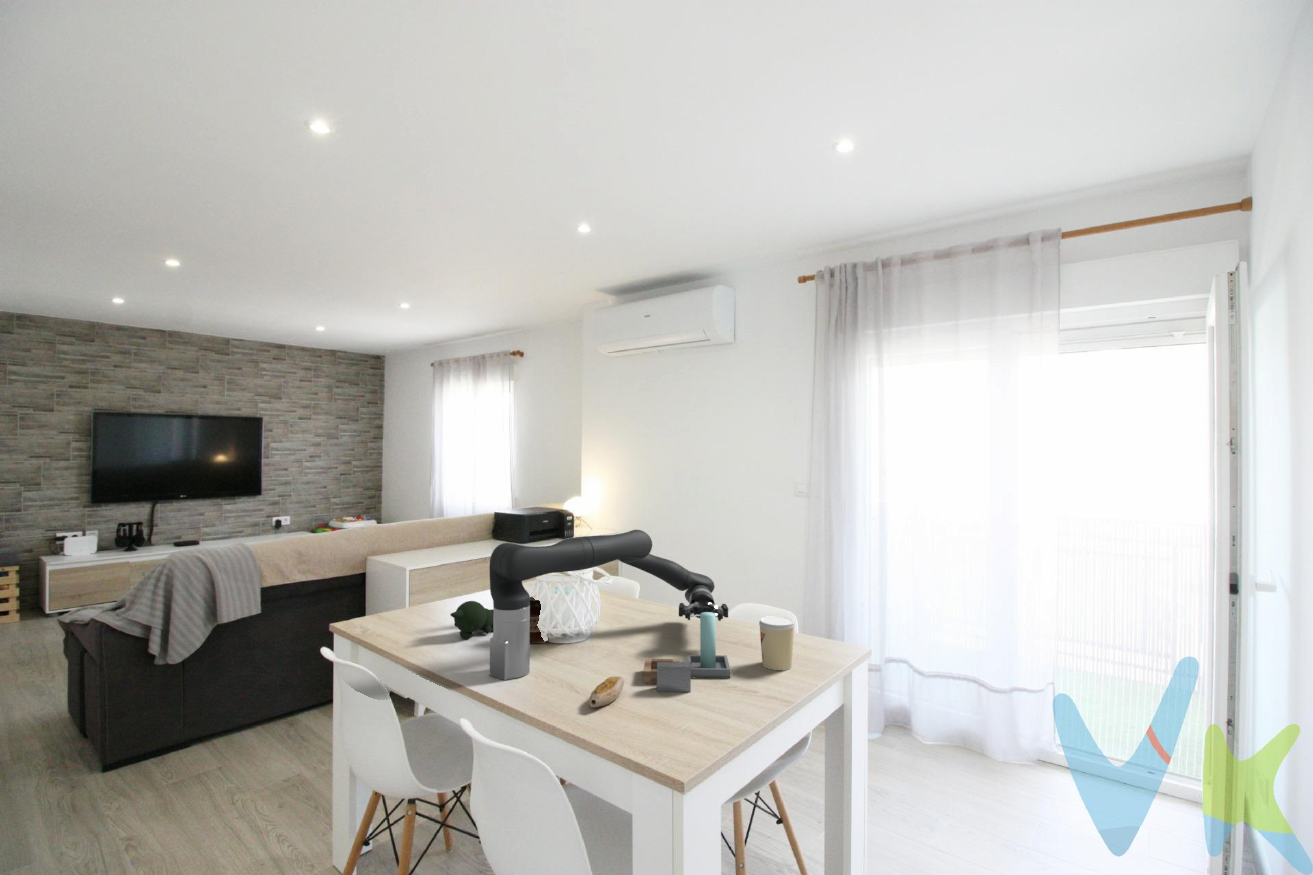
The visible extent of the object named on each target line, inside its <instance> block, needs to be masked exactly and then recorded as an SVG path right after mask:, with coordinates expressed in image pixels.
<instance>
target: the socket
mask: <svg viewBox="0 0 1313 875" xmlns="http://www.w3.org/2000/svg"><path fill="white" fill-rule="evenodd" d="M657 662H681V661H680V658H645V659H644V663H643V664H644V665H643V684H645V685H646V684H648V685H651V684H652V685H657Z"/></svg>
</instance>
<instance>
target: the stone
mask: <svg viewBox="0 0 1313 875" xmlns="http://www.w3.org/2000/svg"><path fill="white" fill-rule="evenodd" d="M624 683H625V681H624V679H623V677H621V676H610V677H607V679H605V680H604V681H602V682H601V683H599V684H598V685H596V687H595V688H594V690H593V691H592V692H591V693H590V696H589V700H588V701H589V702H588V704H589V706H590V707H591V708H600V707H604V706H607V705H610V704H612V702H614V701H615V700H616V699H617V698H619V696H620V695H621V692H622V691H623V690H624V685H625V684H624Z"/></svg>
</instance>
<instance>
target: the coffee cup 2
mask: <svg viewBox="0 0 1313 875" xmlns="http://www.w3.org/2000/svg"><path fill="white" fill-rule="evenodd" d="M759 619H760V620H759V622H758V624H759V635H760V637H759V638H760V647H761V648H760V649H761V661H762V662H761V663H762V666H763V668H765V667H766V668H765V669H767V668H768V669H767V670H770V669H773V670H772V671H776V670H783V671H787V669H788V670H790V669H791V668H792V667H793V666H792V665H793V655H794V654H793V653H794V652H793V650H794V639H795V638H794V637H795V636H794V635H795V623H794V620H793V619H792V618H789V617H786V616H779V615H772V616H771V615H770V616H763V617H761V618H759Z"/></svg>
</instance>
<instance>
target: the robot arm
mask: <svg viewBox="0 0 1313 875" xmlns="http://www.w3.org/2000/svg"><path fill="white" fill-rule="evenodd" d="M652 549H653V540H652V538H651V537H650V534H648V533H647V532H646V531H643V530H641V529H632V530H629V531H626V532H622V533H621V532H620V533H616V534H610V535H609V534H608V535H607V534H606V535H605V534H603V535H601V534H600V535H585V536H575V537H569V538H566V539H562V540H560V541H558V542H555V543H554V544H552V545H543V546H542V545H541V546H529V545H522V544H517V543H512V542H503V543H499V545H497V546H496V547H495V548H494V549H493V550H492V553H491V555H490V559H489V590H490V596H491V598H492V603H493V604H492V605H493V607H492V608H493V609H492V610H493V629H492V633H493V634H492V635H493V636H492V637H490V638H489V675H490V676H491V677H495V678H497V679H500V680H503V681H508V680H511V679H512V680H513V679H517V678H518V679H519V678H522V677H524V676H526V675H528V674H529V673H530V665H531V664H530V659H531V658H530V657H531V656H530V655H531V654H530V648H531V647H530V644H531V643H530V597H531V596H530V593H529V592H528V591H527V590H526V588H525V587H524V585H523V581H527V580H530V579H534V578H537V577H540V576H544V575H548V574H553V573H554V574H555V573H568V572H575V571H582V570H589V569H592V568H596V567H599V566H603V565H605V564H609V563H611V562H614V561H617V560H618V561H619V562H621V563H624V564H626V565H628V566H630V567H633V568H636V569H639V570H640V571H642V572H644V573H645V572H646V573H648V574H650V575H652V576H654V577H656V578H658V579H660V580H662V581H664V582H665V583H667V584H668V585H670V586H672V587H673V588H674V589H676V590H678V591H680V592H684V591H685V593H684V598H685V600H686V601H687V602H688V603H689V604H688V605H686V604H684V603H683V602H680V603H679V605H678V617H681V618H682V617H684V619H687V621H691V618H695V617H696V618H697V619H700V614H701V613H703V612H712V613H715V614H716V619H717V621H718V622H721V621H722V620H724V618H729V607H728V605H727V604H726V603H722V604H721V605H720V606H718V605H717V604H716V603H715V600H714V596H713V594H712V593H713V592H714V590H715V582H714V580H713V579H712V578H710V577H709V576H707V575H704V574H701V573H697V572H694V571H690V570H688V569H687V568H685V567H683V565H681V564H679V563H677V562H675V561H673V560H671V559H668V558H665V557H660V556H658V555H654V554H651V552H652Z"/></svg>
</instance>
